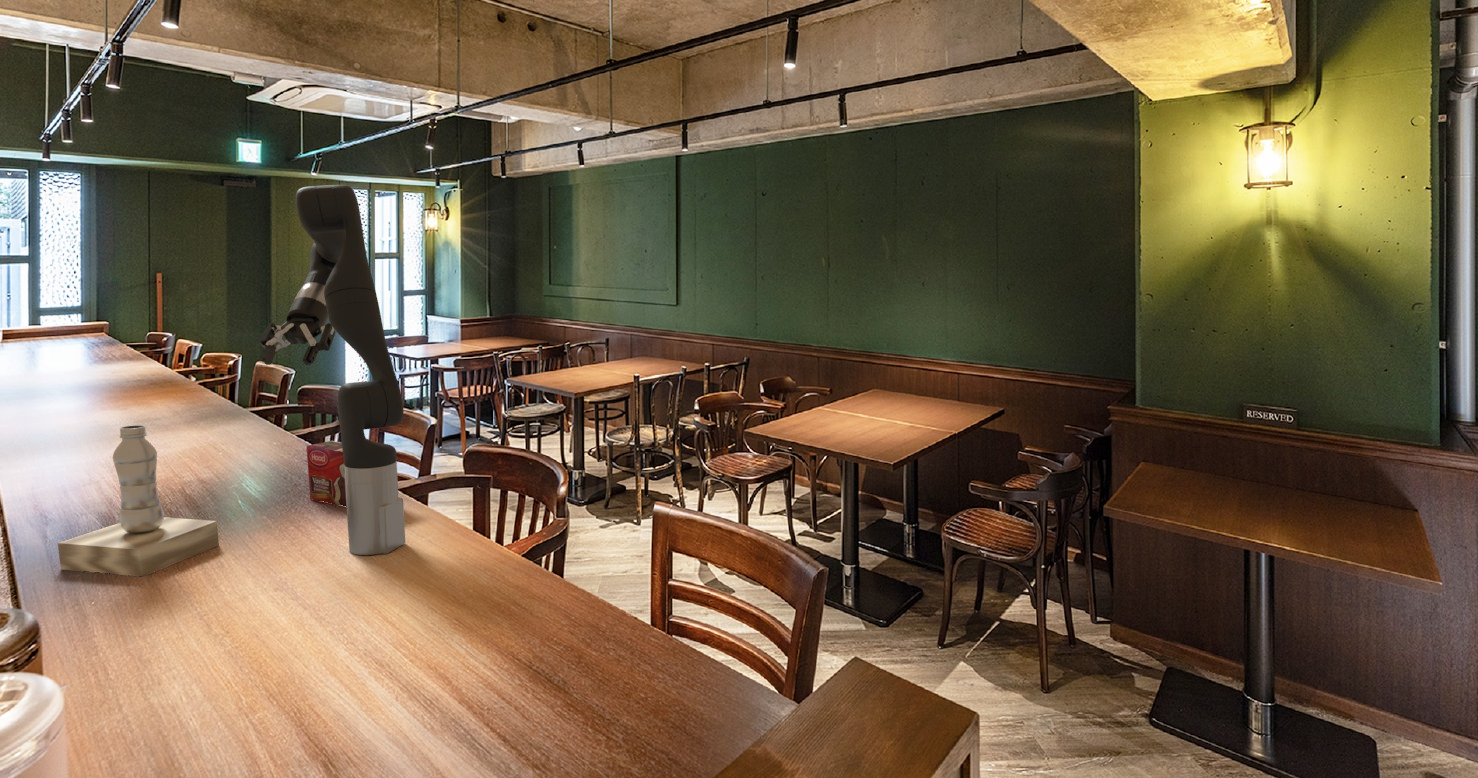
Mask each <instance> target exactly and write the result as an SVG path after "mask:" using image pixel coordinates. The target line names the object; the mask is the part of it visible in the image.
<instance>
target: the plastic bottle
mask: <svg viewBox="0 0 1478 778" xmlns="http://www.w3.org/2000/svg"><path fill="white" fill-rule="evenodd" d="M119 434H120V435H119V438H120V439H121V442H120V443H119V444H118V445H117V446H116V448H115V450H114V451H113V455H112V460H113V464H114V467H115V470H116V474H117V477H118V483H119V489H120V510H119V523H120V524H121V527H122V529H124V530H125V531H126V532H129V533H138V532H146V531H150V530H154V529H157V528H159V527H160V526H161V525H162V523H163V521H164V517H165V513H164V510H163V507H162V504H161V501H160V496H159V492H158V488H157V486H158V484H157V483H158V482H157V465H158V464H157V463H158V451H157V449H156V448H155V447H154V445H153V444H152V443H151V442H149V441H148V440H147V439H146V437H147V432H146V426H145V424H144V425H142V424H139V425H138V424H137V425H136V424H135V425H133V424H132V425H127V426H122V427H120V428H119Z"/></svg>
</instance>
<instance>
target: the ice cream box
mask: <svg viewBox="0 0 1478 778" xmlns="http://www.w3.org/2000/svg"><path fill="white" fill-rule="evenodd" d="M306 457H307V472H308V485H309V486H308V488H309V489H308V490H309V500H310V499H313V500H317V501H316V502H318V501H324V502H328V503H332V504H335V505H334V506H337V505H343V506H346V507H345V508H347V504H346V488H345V470H344V457H343V450H342V441H341V442H340V441H335V440H329V441H324V442H319V443H314V444H310V445H309V444H308V445H306ZM313 500H312V501H313ZM328 503H327V504H328ZM332 504H331V505H332Z"/></svg>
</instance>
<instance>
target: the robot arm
mask: <svg viewBox="0 0 1478 778" xmlns="http://www.w3.org/2000/svg"><path fill="white" fill-rule="evenodd" d="M295 206H296V207H295V208H296V211H297V216H298V219H299V221H300V224H301V226H302V228H303V230H304V231H305V232H306V233H307V234H308V236H309V237H310V239H312V240H313V241H314V243H313V244H312V246H311V250H310V264H309V271H308V273H307V275H306V278H305V281H304V283H303V285H302V286H301V288H300V289H299V291H298V292H297V295H296V296H295V297H294V300H293V301H292V304H291V306H290V308H289V311H288V312H287V315H286V320H285V322H284V323H283V324H281V325H277V324H275V322H272V321H271V322H269V323H268V324H267V326H266V327H265V330H264V331H263V333H262V334H261V337H260V338H259V340H258V343H259V344H260V346H261V347H262V348H263V349H264V351H263V352H262V354H261V357H260V358H261V360H262V361H263V363H264V365H267V366H268V365H272V363H273V360H274V358H275V357H276V354H277V352H278V351H279V350H280V349H282V348H287V347H288V346H289V345H297V344H301V345H306V344H307V343H308V344H309V345H310V346H307V349H306V350H305V353H304V355H303V357H302V362H303V364H304V365H305V366H312V364H313V363H315V360H316V358H317V356H318V354H319V353H320V352H321V351H325V352H328V351H330V349H331V347H332V345H333V344H332V343H333V341H334V338H335V335H336V334H338V335H339V336H340V338H342V339H343V340H344V341H345V342H346V343H347V344H348V345H349V346H350V347H351V349H352V350H354V351H355V352H356V353H357V354H358V355H359V356H360V357H361V359H362V361H364V363H365V365H366V366H367V368H368V370H369V373H370V375H371V377H372V380H370V381H369V380H368V381H366V380H365V381H355V382H347V383H344V384H342V385H341V386H340V387H339V389H338V391H337V397H336V398H337V412H338V420H339V428H340V429H339V430H340V437H341V442H342V450H343V457H344V470H345V488H346V504H347V507H346V517H347V518H346V519H347V533H348V535H347V536H348V548H349V552H350V553H351V554H354V555H361V556H364V555H365V556H371V555H373V556H374V555H379V554H380V555H382V554H384V555H385V554H389V553H390V552H393V551H394V550H396V549H397V548H399V547H401V546H403V545H405V544H406V533H405V532H406V528H405V527H406V526H405V507H404V506H405V505H404V504H405V503H404V498H403V497H399V485H398V484H399V482H398V463H397V462H398V461H397V460H398V459H397V458H398V457H397V450H396V447H394V446H393V445H392V444H388V443H382V442H376V441H372V440H370V439H368V438H367V437H366V435H365V430H371V429H372V430H373V429H380V428H381V429H382V428H390V427H394V426H398V425H399V424H401V422H402V421H403V419H404V418H403V417H404V413H405V412H404V402H403V396H402V393H401V392H402V391H401V389H400V385H399V382H398V378H397V374H396V372H395V369H394V365H393V362H392V359H391V356H390V352H389V348H388V344H387V340H386V336H385V330H384V325H383V322H382V321H383V320H382V316H381V310H380V305H379V304H380V303H379V299H378V296H377V290H376V288H375V284H374V280H373V276H372V273H371V269H370V264H369V259H368V255H367V249H366V244H365V238H364V237H365V235H364V230H363V223H362V219H361V218H362V217H361V216H362V215H361V211H360V205H359V202H358V198H357V195H356V193H355V191H354V190H353V188H352V187H351V186H350V185H347V184H331V185H330V184H327V185H326V184H325V185H315V186H314V185H312V186H311V185H309V186H304V187H301V188H299V189H298V190H297V191H296V194H295ZM328 320H329V323H327V321H328ZM320 335H321V337H320V340H319V341H318V342H317V341H316V339H315V338H317V337H318V336H320ZM283 337H284V338H285V340H283Z"/></svg>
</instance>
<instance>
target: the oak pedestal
mask: <svg viewBox="0 0 1478 778" xmlns="http://www.w3.org/2000/svg"><path fill="white" fill-rule="evenodd" d="M218 530H219V529H218V522H217V520H209V519H205V520H204V519H193V518H192V519H191V518H179V517H169V516H168V517H165V516H164V521H163V523H162V525H161V526H160V527H159V528H157V529H154V530H150V531H146V532H138V533H129V532H126V531H125V530H124V529H122V527H121V524H120V522H118V523H115V524H112V525H109V526H106V527H103V528H99V529H97V530H94V531H90V532H87V533H84V534H81V535H78V536H75V537H72V538H70V539H67V540H62V541H60V542H57V550H58V557H59V563H60V564H59V566H60V570H62V571H63V570H64V571H73V572H83V571H90V572H89V573H94V572H100V573H99V574H105V573H108V574H107V575H117V574H118V575H120V576H128V575H135V576H134V577H139V576H142V578H143V577H145V576H144V575H146V576H148V575H151V574H152V572H153V573H155V572H158V571H160V570H163V569H165V568H167V567H169V566H172V565H175V564H177V563H179V562H181V561H185V560H187V559H189V558H191V557H194V556H196V555H199V554H202V553H204V552H206V551H208V550H211V549H214V548H216V547H219V546H220V543H219V532H218ZM162 568H163V569H162ZM154 571H155V572H154ZM109 573H110V574H109Z"/></svg>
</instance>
